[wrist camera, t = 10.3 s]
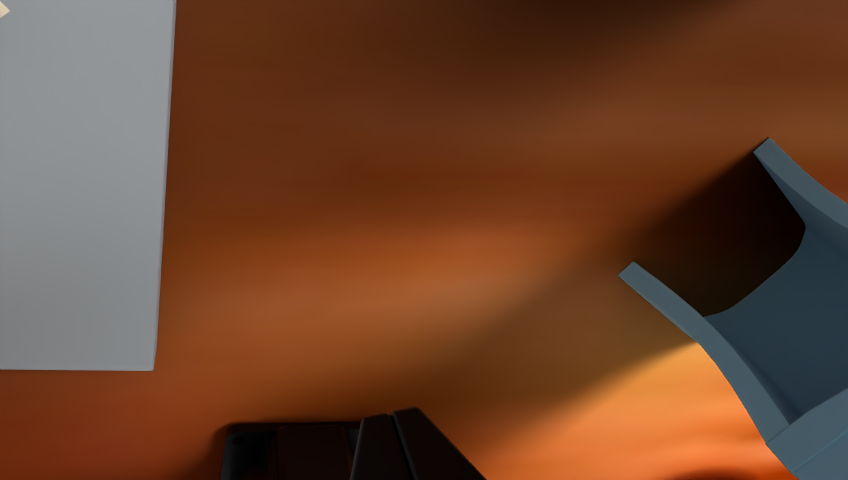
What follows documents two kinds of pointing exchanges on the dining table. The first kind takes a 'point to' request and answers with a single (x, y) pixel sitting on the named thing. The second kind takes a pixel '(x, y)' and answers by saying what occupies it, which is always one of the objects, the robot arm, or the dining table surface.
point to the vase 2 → (785, 332)
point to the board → (83, 181)
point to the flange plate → (3, 9)
